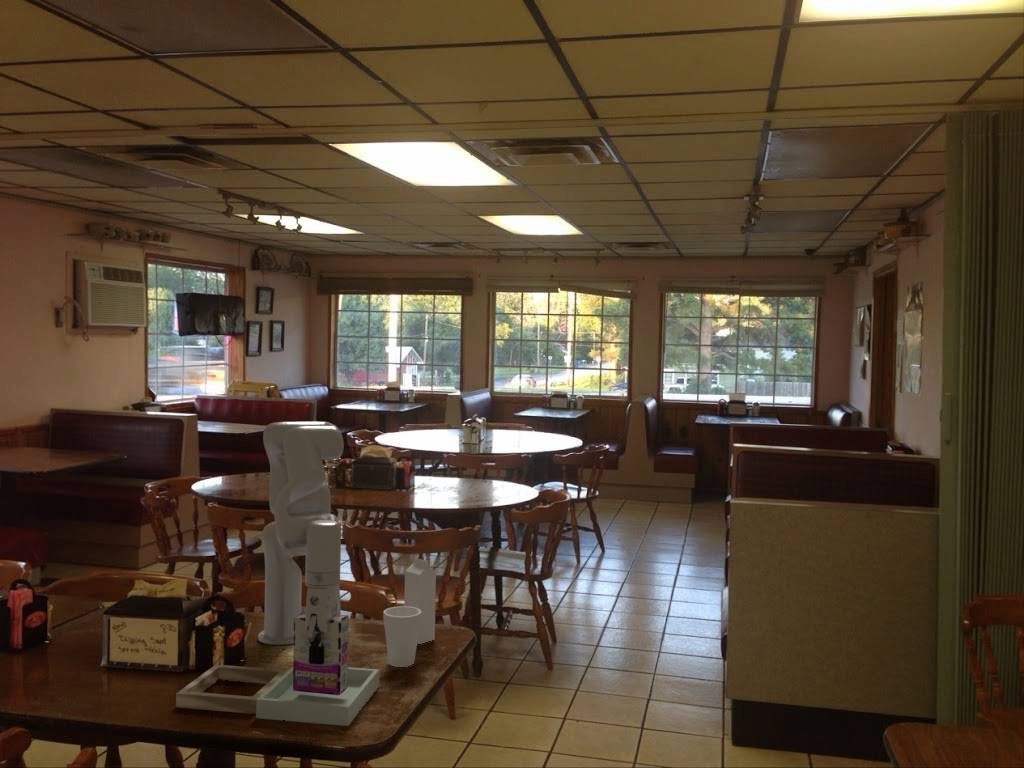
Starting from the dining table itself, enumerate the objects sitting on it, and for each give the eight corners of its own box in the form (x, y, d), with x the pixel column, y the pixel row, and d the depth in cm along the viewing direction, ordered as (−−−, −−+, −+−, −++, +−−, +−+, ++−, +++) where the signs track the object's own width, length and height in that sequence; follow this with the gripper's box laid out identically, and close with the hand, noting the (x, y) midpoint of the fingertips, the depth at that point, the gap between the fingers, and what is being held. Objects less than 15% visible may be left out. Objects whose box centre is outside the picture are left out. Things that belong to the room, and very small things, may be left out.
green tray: (296, 680, 206) (296, 663, 206) (378, 686, 204) (379, 669, 203) (256, 718, 185) (256, 699, 184) (348, 726, 182) (348, 706, 182)
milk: (418, 645, 233) (419, 563, 232) (403, 640, 237) (404, 559, 236) (435, 640, 237) (436, 559, 236) (420, 635, 241) (421, 555, 241)
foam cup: (405, 654, 226) (406, 604, 225) (428, 664, 219) (429, 612, 219) (374, 662, 219) (375, 611, 219) (397, 673, 213) (398, 619, 212)
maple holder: (215, 677, 207) (215, 664, 207) (288, 683, 204) (289, 670, 204) (176, 707, 189) (176, 693, 189) (255, 714, 187) (255, 699, 187)
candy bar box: (348, 687, 195) (350, 614, 195) (339, 696, 190) (341, 621, 190) (301, 682, 198) (302, 610, 197) (291, 691, 193) (293, 616, 192)
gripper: (325, 588, 184) (324, 674, 185) (351, 569, 201) (350, 647, 202) (291, 586, 185) (289, 671, 186) (320, 567, 202) (318, 645, 203)
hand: (321, 658), depth 194 cm, fingers closed on candy bar box, 5 cm apart
